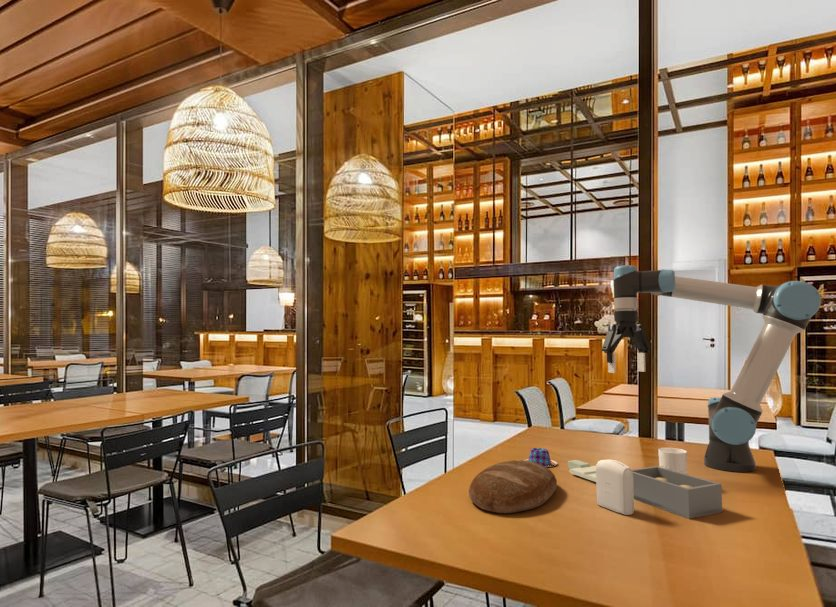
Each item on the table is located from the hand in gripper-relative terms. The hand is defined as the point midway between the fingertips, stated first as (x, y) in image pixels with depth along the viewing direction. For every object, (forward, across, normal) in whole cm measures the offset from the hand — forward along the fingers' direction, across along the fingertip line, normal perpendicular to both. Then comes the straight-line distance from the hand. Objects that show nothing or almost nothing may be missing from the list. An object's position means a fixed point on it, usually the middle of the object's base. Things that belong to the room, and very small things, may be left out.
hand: (627, 372), depth 184 cm
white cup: (+32, +5, +22) cm, 39 cm away
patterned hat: (+32, +26, -15) cm, 44 cm away
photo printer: (+32, +38, +32) cm, 59 cm away
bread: (+32, +54, +10) cm, 64 cm away
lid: (+32, +20, +8) cm, 39 cm away
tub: (+32, +21, +35) cm, 52 cm away
